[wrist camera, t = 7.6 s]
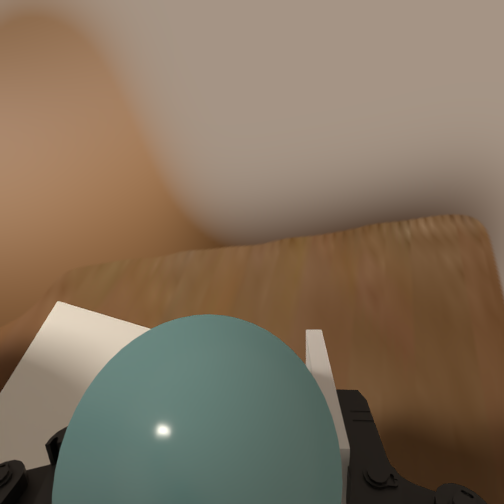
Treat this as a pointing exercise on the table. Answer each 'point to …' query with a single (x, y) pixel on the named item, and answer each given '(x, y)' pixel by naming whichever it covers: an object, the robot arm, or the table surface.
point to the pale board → (56, 378)
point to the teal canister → (201, 423)
